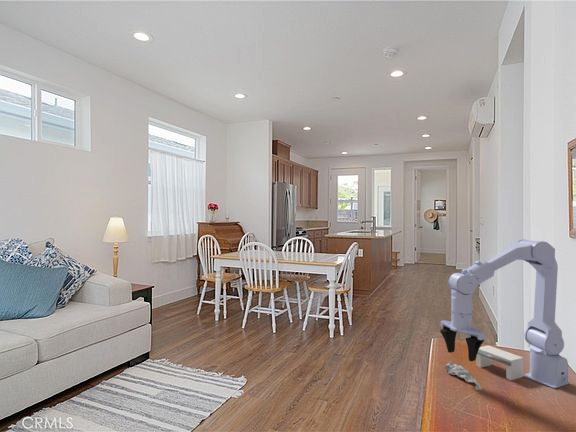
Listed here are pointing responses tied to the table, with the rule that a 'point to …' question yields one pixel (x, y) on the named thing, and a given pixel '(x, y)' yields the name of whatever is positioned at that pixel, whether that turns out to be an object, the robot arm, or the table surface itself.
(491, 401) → the table surface
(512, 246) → the robot arm
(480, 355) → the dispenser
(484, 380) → the table surface
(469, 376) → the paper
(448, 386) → the table surface
